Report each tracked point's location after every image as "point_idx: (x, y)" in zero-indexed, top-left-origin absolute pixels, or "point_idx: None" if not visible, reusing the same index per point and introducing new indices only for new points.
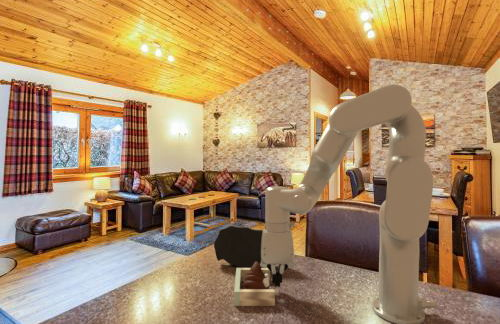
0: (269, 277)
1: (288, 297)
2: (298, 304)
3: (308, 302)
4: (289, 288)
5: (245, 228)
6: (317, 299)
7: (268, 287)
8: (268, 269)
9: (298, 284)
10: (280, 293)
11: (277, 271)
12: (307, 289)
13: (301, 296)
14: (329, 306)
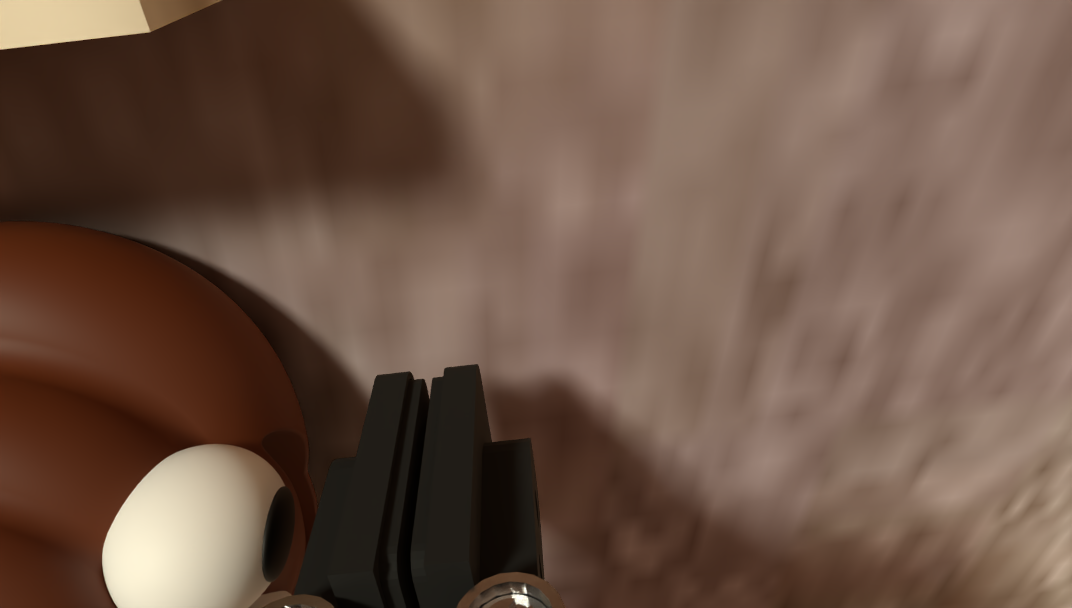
0: (265, 589)
1: (614, 486)
2: (713, 594)
3: (844, 549)
4: (664, 244)
5: None
6: (987, 483)
7: (296, 440)
8: (78, 18)
9: (876, 60)
10: (505, 409)
11: (425, 597)
12: (972, 242)
13: (800, 445)
14: (1049, 585)
